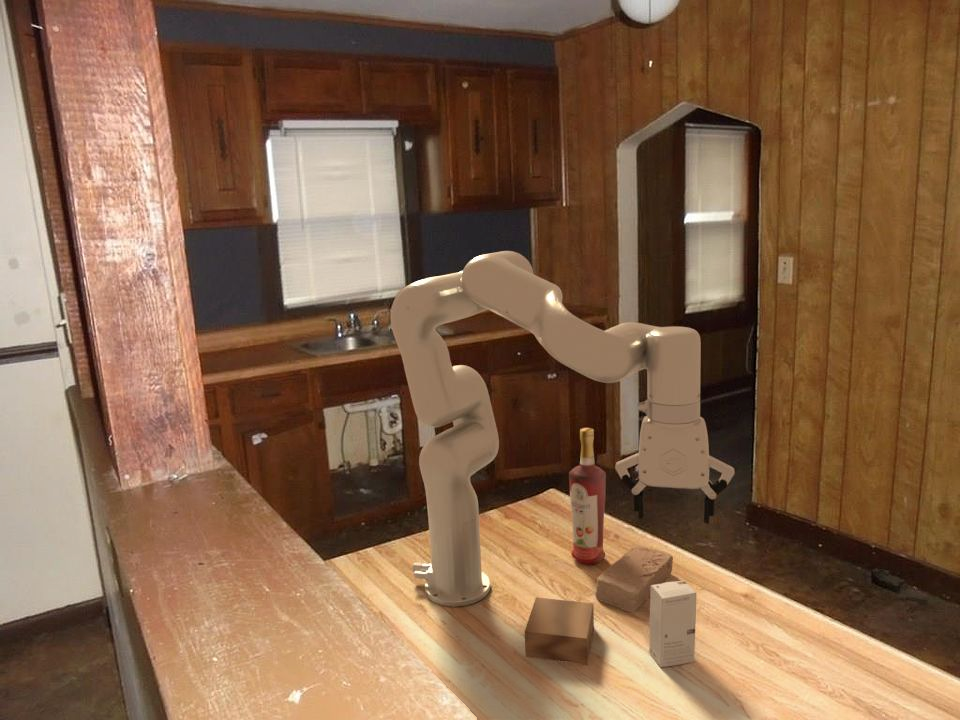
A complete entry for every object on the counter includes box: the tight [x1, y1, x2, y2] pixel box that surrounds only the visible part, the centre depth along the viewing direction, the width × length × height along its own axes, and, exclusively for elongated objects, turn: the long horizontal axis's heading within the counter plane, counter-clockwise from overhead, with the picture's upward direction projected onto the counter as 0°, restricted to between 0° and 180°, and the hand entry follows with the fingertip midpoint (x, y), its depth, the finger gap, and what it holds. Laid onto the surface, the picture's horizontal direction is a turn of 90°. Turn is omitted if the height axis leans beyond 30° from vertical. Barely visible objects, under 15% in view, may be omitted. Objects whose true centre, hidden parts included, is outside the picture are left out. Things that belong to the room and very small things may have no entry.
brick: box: [595, 544, 674, 613], centre depth 132 cm, size 17×8×5 cm, turn 141°
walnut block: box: [524, 597, 595, 666], centre depth 117 cm, size 10×10×5 cm
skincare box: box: [648, 579, 698, 668], centre depth 111 cm, size 6×4×12 cm
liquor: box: [568, 427, 607, 566], centre depth 140 cm, size 7×7×28 cm
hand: (673, 517), depth 107 cm, fingers open, 9 cm apart
